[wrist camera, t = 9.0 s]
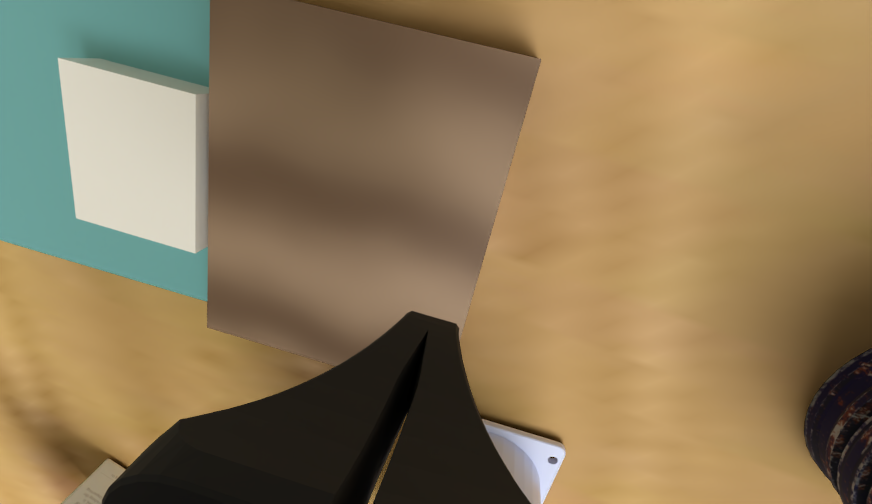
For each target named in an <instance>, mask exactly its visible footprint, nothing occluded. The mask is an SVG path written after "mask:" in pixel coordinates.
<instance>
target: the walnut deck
mask: <svg viewBox="0 0 872 504" xmlns="http://www.w3.org/2000/svg"><path fill="white" fill-rule="evenodd" d="M540 62H541V59H539V58H534V57H530V56H526V55H522V54H518V53H513V52H509V51H505V50H501V49H497V48H492V47H488V46H484V45H480V44H476V43H471V42H467V41H463V40H459V39H455V38H450V37H446V36H442V35H438V34H434V33H429V32H425V31H421V30H417V29H412V28H408V27H404V26H400V25H396V24H391V23H387V22H383V21H379V20H375V19H370V18H366V17H362V16H358V15H354V14H349V13H345V12H341V11H337V10H333V9H328V8H324V7H320V6H316V5H311V4H307V3H303V2H299V1H295V0H210V43H209V167H208V291H207V328H211V329H214V330H217V331H221V332H224V333H227V334H231V335H234V336H237V337H240V338H244V339H247V340H250V341H254V342H257V343H260V344H264V345H267V346H270V347H274V348H277V349H280V350H283V351H287V352H290V353H293V354H297V355H300V356H303V357H307V358H310V359H313V360H317V361H320V362H323V363H326V364H330V365H333V366H338V365H339V364H341V363H343V362H344V361H346V360H348V359H349V358H351V357H352V356H354V355H355V354H357V353H358V352H360V351H361V350H363V349H364V348H366V347H367V346H369V345H370V344H371V343H373V342H374V341H375V340H376V339H378V338H379V337H380V336H382V335H383V334H384V333H386V332H387V331H388V330H389V329H390V328H391V327H393V326H394V325H395V324H396V323H397V322H398V321H399V320H400V319H402V318H403V317H404V316H405V315H406V313H408V312H410V311H414V312H418V313H421V314H425V315H428V316H432V317H435V318H439V319H442V320H446V321H449V322H453V323H456V324H457V326H458V327H459V342H460V338H461V335H462V331H463V328H464V324H465V321H466V317H467V314H468V311H469V307H470V304H471V300H472V297H473V293H474V290H475V286H476V283H477V280H478V276H479V273H480V269H481V266H482V262H483V259H484V255H485V252H486V248H487V245H488V242H489V238H490V235H491V231H492V228H493V224H494V221H495V217H496V214H497V211H498V207H499V204H500V200H501V197H502V193H503V190H504V186H505V183H506V179H507V176H508V173H509V169H510V166H511V162H512V159H513V155H514V152H515V148H516V145H517V142H518V138H519V135H520V131H521V128H522V124H523V121H524V117H525V114H526V110H527V107H528V104H529V100H530V97H531V93H532V90H533V86H534V83H535V79H536V76H537V73H538V69H539V66H540Z"/></svg>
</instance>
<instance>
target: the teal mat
mask: <svg viewBox="0 0 872 504" xmlns="http://www.w3.org/2000/svg"><path fill="white" fill-rule="evenodd" d="M209 43H210V0H0V240H2V241H5V242H8V243H12V244H15V245H18V246H22V247H25V248H28V249H32V250H35V251H39V252H42V253H45V254H49V255H52V256H55V257H59V258H62V259H65V260H69V261H72V262H75V263H79V264H82V265H86V266H89V267H92V268H96V269H99V270H102V271H106V272H109V273H112V274H116V275H119V276H123V277H126V278H129V279H133V280H136V281H139V282H143V283H146V284H149V285H153V286H156V287H160V288H163V289H166V290H170V291H173V292H176V293H180V294H183V295H186V296H190V297H193V298H197V299H200V300H203V301H207V291H208V247H206V248H204V249H202V250H201V251H199V252H197V253H192V252H188V251H185V250H182V249H178V248H175V247H171V246H168V245H165V244H161V243H158V242H155V241H151V240H148V239H144V238H141V237H138V236H134V235H131V234H127V233H124V232H121V231H117V230H114V229H111V228H107V227H104V226H100V225H97V224H94V223H90V222H87V221H84V220H80V219H77V218H76V213H75V205H74V196H73V187H72V179H71V170H70V161H69V152H68V144H67V135H66V126H65V118H64V109H63V100H62V91H61V83H60V74H59V65H58V58H100V59H104V60H108V61H112V62H115V63H119V64H123V65H127V66H130V67H134V68H138V69H142V70H146V71H149V72H153V73H157V74H161V75H164V76H168V77H172V78H176V79H179V80H183V81H187V82H191V83H195V84H198V85H202V86H206V87H209Z"/></svg>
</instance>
